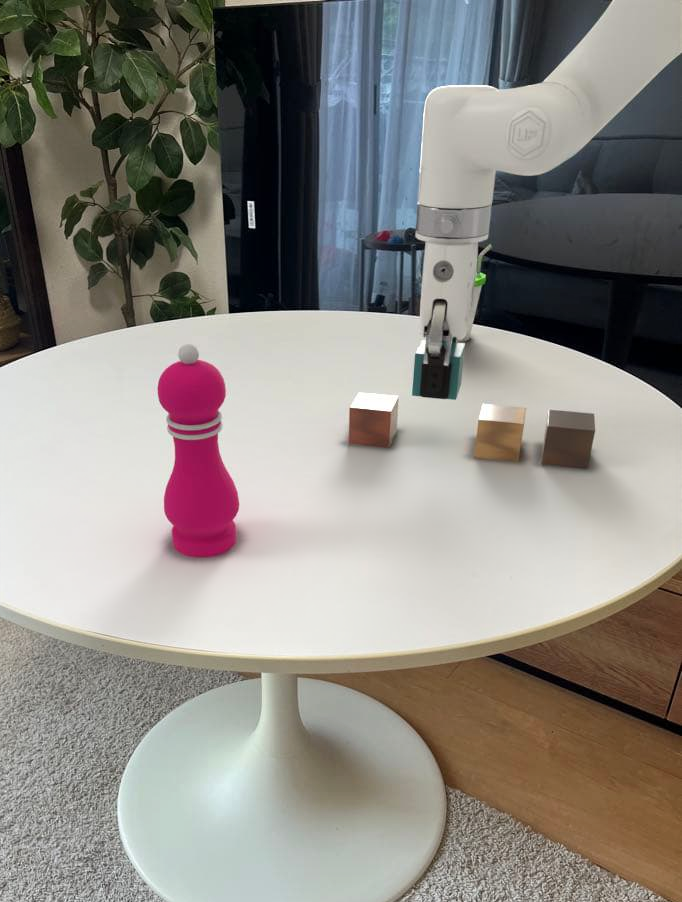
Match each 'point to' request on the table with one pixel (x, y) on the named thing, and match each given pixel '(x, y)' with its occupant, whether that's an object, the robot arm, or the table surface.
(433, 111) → the robot arm
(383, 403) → the cherry block
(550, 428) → the walnut block
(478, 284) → the cup
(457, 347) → the teal block
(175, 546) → the pepper mill
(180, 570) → the table surface
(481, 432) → the oak block
